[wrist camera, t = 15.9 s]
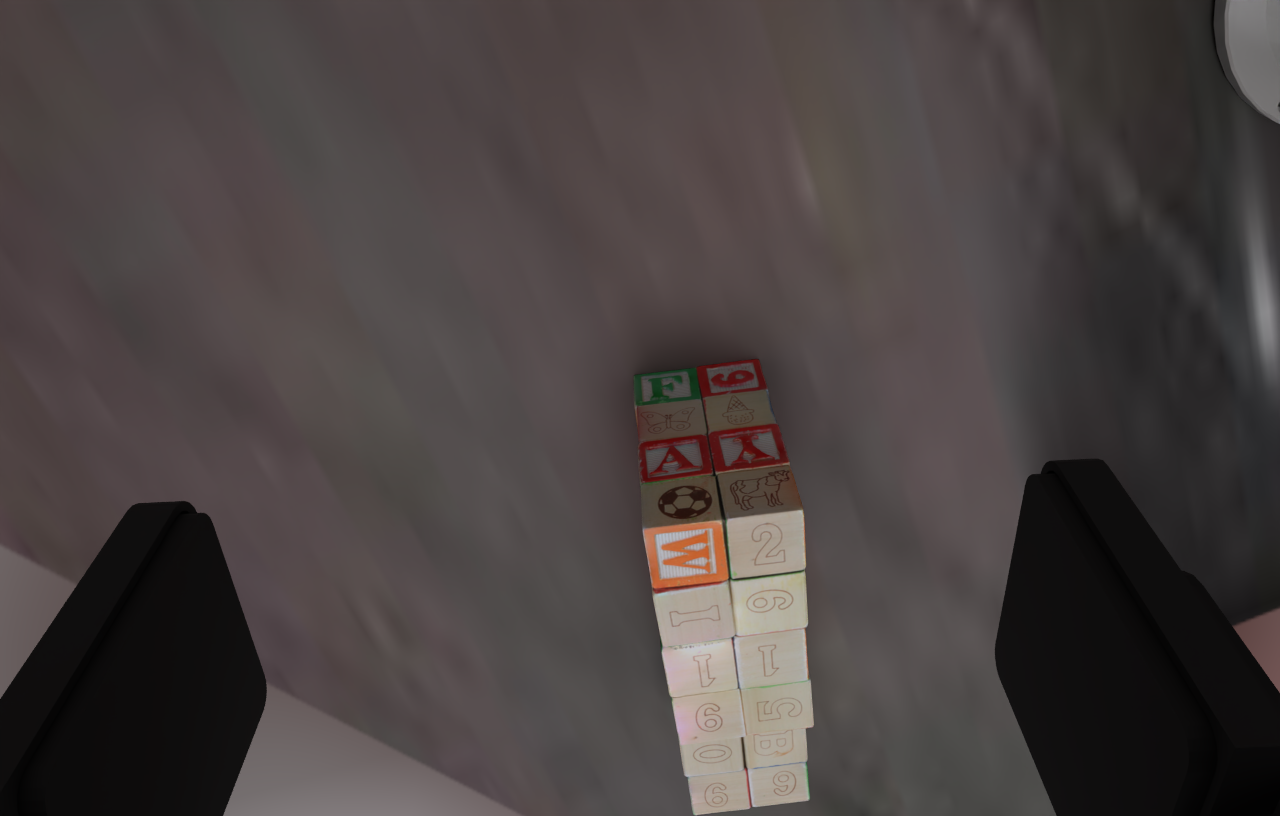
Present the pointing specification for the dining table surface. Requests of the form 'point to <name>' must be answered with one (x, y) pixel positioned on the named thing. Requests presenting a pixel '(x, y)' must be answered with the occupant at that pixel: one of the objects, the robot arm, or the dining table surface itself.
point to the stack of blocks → (727, 582)
